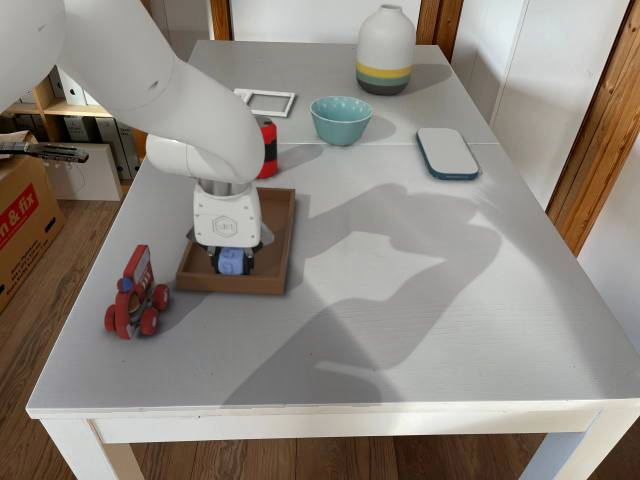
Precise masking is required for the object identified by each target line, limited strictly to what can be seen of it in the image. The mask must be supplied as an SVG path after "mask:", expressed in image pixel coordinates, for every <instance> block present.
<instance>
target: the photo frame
mask: <svg viewBox="0 0 640 480" xmlns="http://www.w3.org/2000/svg"><path fill="white" fill-rule="evenodd" d="M232 92H233V93H235V94H237V95H238V96H240V97H241V98H242V99H243V101H244V102H245V103H246V104H247V105H248V103H249V101H250V99H251V98H252V97H253V94H255V95H264V96H278V97H288V98H289V100H288V102H287V105H286V108H285V110H284V112H283V111H273V110H271V111H270V110H261V109H260V110H259V109H251V111H252V113H253V115H258V116H272V117H283V118H286V117H287V116H288V114H289V112H290V109H291V107H292V105H293V103H294V100H295V97H296V93H295V92H283V91H272V90H260V89H251V88H250V89H249V88H236V87H235V88H234V90H233V91H232Z"/></svg>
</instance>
